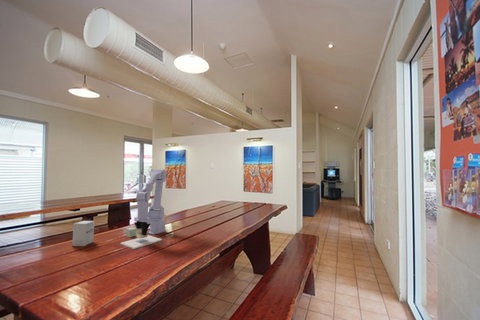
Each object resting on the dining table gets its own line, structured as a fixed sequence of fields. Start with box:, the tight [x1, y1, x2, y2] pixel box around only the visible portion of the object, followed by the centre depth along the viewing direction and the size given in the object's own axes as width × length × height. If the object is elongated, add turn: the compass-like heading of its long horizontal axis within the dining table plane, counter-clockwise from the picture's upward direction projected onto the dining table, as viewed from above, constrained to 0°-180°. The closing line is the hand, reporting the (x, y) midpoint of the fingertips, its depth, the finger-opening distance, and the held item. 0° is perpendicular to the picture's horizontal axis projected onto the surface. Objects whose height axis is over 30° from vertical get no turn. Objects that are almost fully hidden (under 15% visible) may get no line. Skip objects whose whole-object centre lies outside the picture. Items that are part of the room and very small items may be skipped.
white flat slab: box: [119, 234, 163, 250], centre depth 126 cm, size 18×14×1 cm
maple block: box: [135, 228, 149, 239], centre depth 126 cm, size 4×4×5 cm
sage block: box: [125, 226, 136, 238], centre depth 138 cm, size 4×4×5 cm
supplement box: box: [71, 220, 95, 247], centre depth 122 cm, size 7×7×13 cm
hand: (142, 234), depth 126 cm, fingers closed on maple block, 4 cm apart
